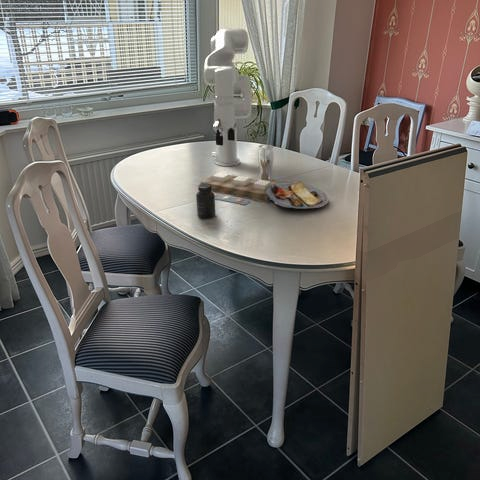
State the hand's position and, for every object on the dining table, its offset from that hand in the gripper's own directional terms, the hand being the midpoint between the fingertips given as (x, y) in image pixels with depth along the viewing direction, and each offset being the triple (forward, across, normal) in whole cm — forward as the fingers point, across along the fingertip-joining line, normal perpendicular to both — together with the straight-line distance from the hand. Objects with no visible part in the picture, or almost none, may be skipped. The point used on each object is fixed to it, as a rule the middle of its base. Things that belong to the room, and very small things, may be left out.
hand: (225, 142), depth 196 cm
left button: (+17, +2, -2) cm, 17 cm away
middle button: (+17, +2, +8) cm, 19 cm away
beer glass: (+19, -15, +12) cm, 27 cm away
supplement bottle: (+20, +32, +10) cm, 39 cm away
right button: (+17, +2, +18) cm, 25 cm away
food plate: (+19, +3, +34) cm, 39 cm away
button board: (+19, +2, +8) cm, 21 cm away
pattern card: (+19, +14, +8) cm, 25 cm away
